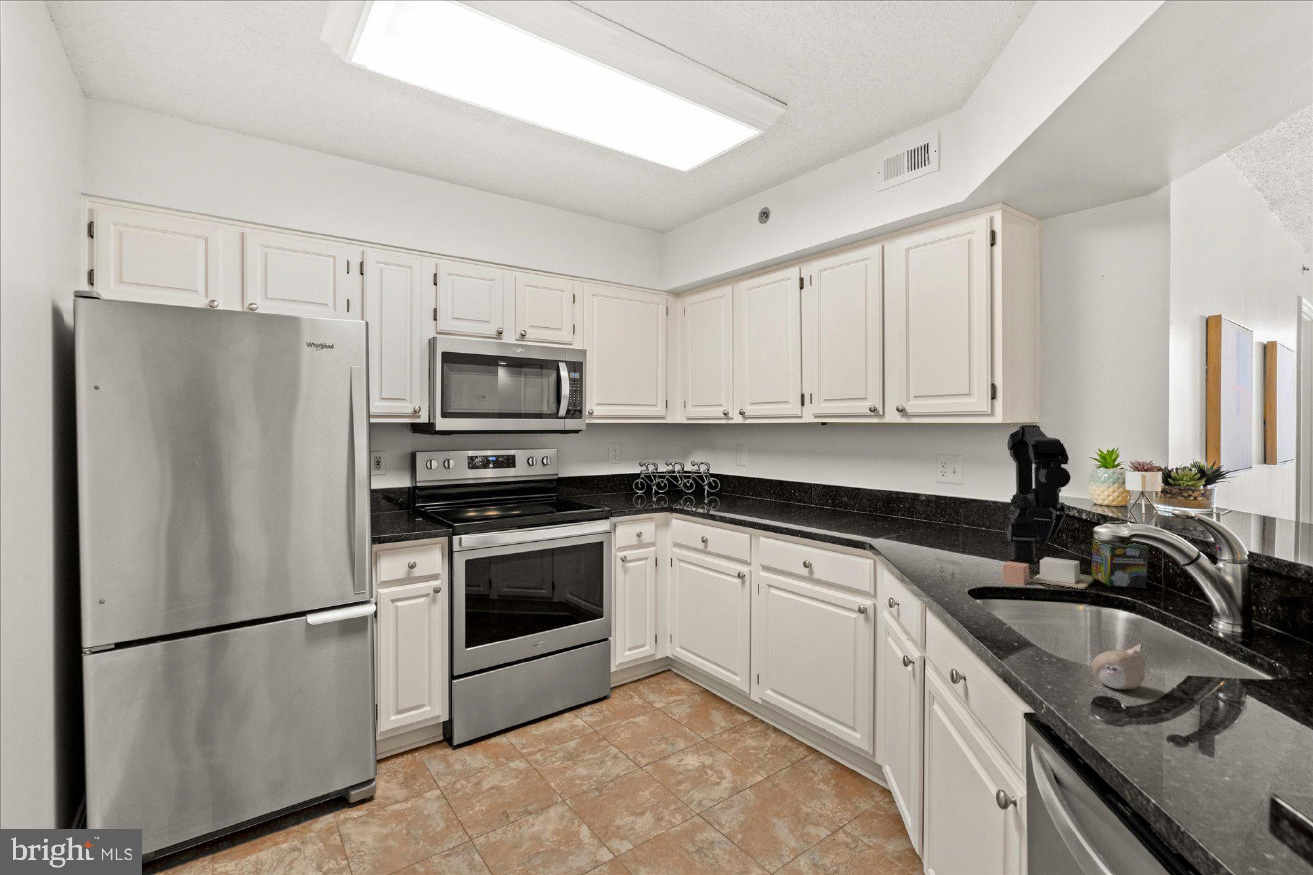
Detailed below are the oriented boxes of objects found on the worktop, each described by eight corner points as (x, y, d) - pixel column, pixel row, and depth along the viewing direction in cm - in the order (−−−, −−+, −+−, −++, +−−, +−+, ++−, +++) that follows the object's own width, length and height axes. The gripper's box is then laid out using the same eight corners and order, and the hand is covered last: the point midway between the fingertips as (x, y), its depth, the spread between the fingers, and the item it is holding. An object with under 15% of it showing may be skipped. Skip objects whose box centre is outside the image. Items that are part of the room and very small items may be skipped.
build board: (1046, 571, 175) (1045, 569, 175) (1096, 578, 166) (1095, 575, 166) (1030, 582, 164) (1030, 579, 164) (1083, 590, 155) (1083, 587, 155)
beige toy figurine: (1122, 698, 95) (1122, 648, 95) (1084, 682, 101) (1083, 635, 101) (1153, 692, 97) (1152, 643, 97) (1113, 676, 103) (1113, 631, 103)
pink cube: (1008, 578, 168) (1008, 561, 168) (1029, 581, 164) (1028, 563, 164) (1003, 582, 165) (1003, 564, 165) (1023, 585, 161) (1023, 567, 161)
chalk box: (1126, 579, 164) (1129, 525, 163) (1147, 589, 155) (1151, 532, 154) (1089, 576, 166) (1092, 524, 165) (1108, 586, 157) (1111, 531, 156)
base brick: (1079, 579, 163) (1079, 561, 163) (1074, 583, 159) (1074, 564, 159) (1045, 574, 169) (1045, 556, 169) (1039, 578, 165) (1039, 560, 165)
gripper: (1022, 481, 176) (1022, 533, 176) (1004, 485, 163) (1004, 542, 163) (1067, 482, 168) (1067, 537, 168) (1052, 488, 155) (1052, 547, 155)
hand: (1047, 541), depth 164 cm, fingers open, 9 cm apart
